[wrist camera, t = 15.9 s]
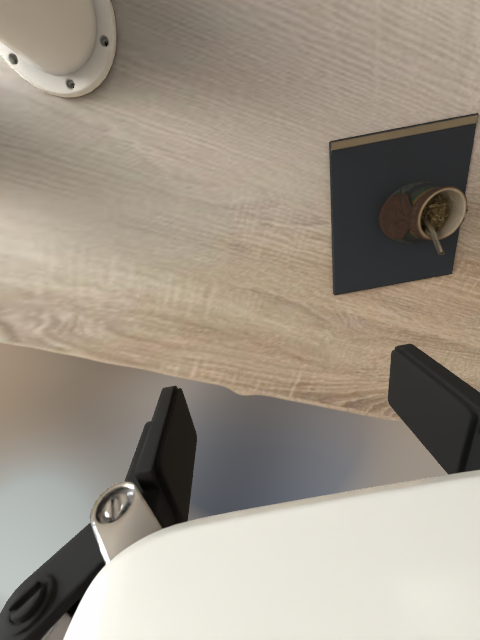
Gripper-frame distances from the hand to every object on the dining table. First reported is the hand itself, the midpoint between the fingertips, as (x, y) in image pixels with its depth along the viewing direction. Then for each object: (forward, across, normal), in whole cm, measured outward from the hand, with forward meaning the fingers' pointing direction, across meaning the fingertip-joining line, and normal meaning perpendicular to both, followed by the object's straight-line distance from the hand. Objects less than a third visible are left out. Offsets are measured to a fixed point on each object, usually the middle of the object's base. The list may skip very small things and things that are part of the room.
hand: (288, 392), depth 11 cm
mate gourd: (+28, -22, -3) cm, 36 cm away
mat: (+28, -22, -3) cm, 36 cm away
